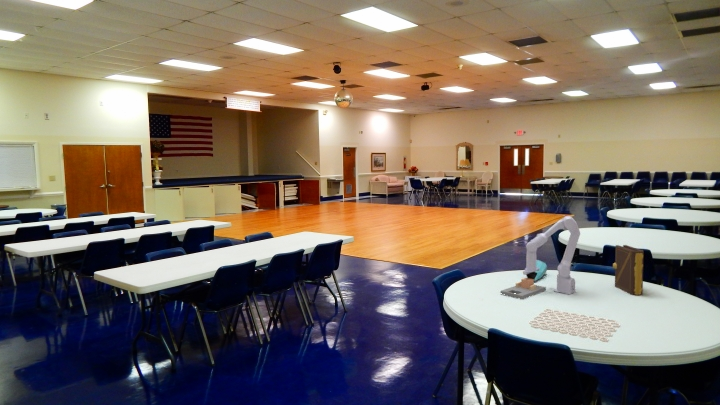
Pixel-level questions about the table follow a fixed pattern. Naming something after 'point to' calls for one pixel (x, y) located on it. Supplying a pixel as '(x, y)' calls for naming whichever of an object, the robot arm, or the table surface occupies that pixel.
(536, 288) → the plate
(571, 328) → the honeycomb grid
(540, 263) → the crystal
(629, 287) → the book
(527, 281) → the block
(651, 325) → the table surface
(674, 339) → the table surface
